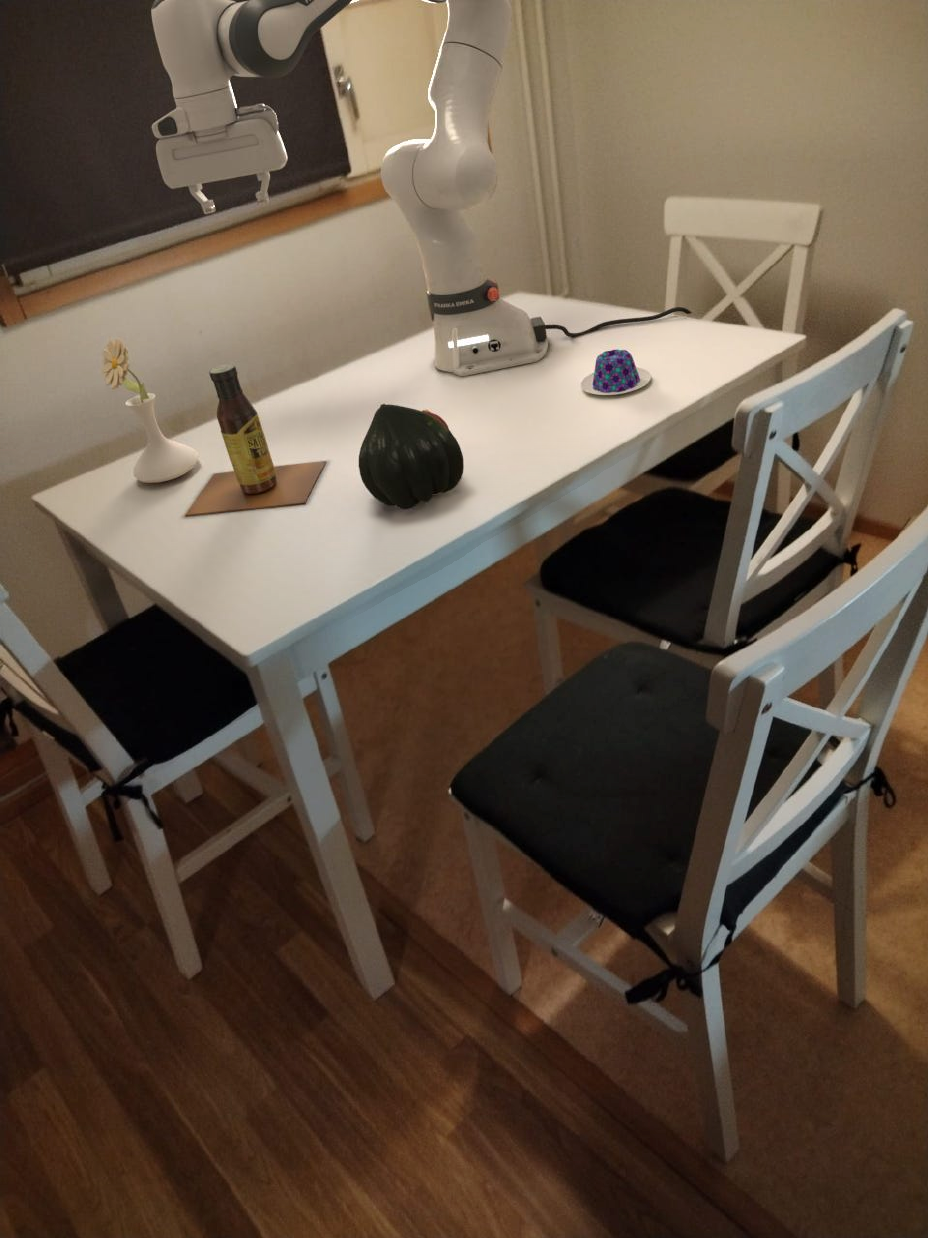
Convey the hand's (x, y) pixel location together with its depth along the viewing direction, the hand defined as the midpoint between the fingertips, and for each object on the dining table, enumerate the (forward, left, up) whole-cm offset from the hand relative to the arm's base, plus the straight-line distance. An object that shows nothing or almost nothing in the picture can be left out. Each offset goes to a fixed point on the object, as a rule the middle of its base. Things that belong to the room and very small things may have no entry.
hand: (237, 207), depth 151 cm
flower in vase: (+19, +18, -37) cm, 45 cm away
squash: (-28, +35, -37) cm, 58 cm away
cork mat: (0, +27, -37) cm, 46 cm away
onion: (-29, +22, -37) cm, 52 cm away
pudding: (-58, +2, -37) cm, 69 cm away
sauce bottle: (0, +27, -37) cm, 46 cm away
